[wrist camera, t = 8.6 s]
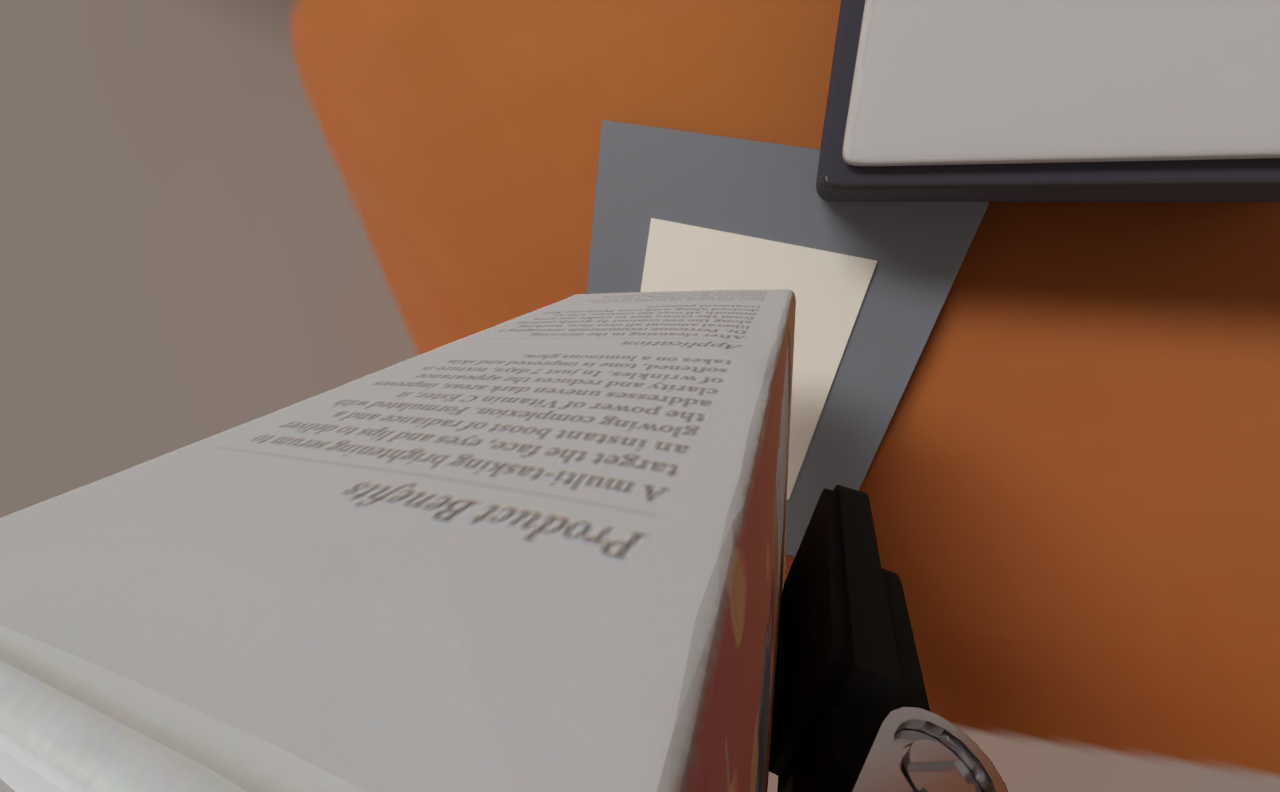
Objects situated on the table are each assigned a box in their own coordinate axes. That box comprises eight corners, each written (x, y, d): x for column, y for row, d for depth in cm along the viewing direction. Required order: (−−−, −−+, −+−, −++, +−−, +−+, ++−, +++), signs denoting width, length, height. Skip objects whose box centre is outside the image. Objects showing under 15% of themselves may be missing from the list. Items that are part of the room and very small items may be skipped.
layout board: (994, 175, 13) (1004, 174, 12) (823, 557, 20) (823, 568, 19) (609, 122, 16) (600, 119, 15) (575, 470, 22) (568, 477, 22)
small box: (787, 567, 13) (722, 1455, 4) (606, 535, 15) (276, 1078, 6) (801, 280, 10) (657, 1282, 1) (573, 286, 12) (-249, 601, 3)
